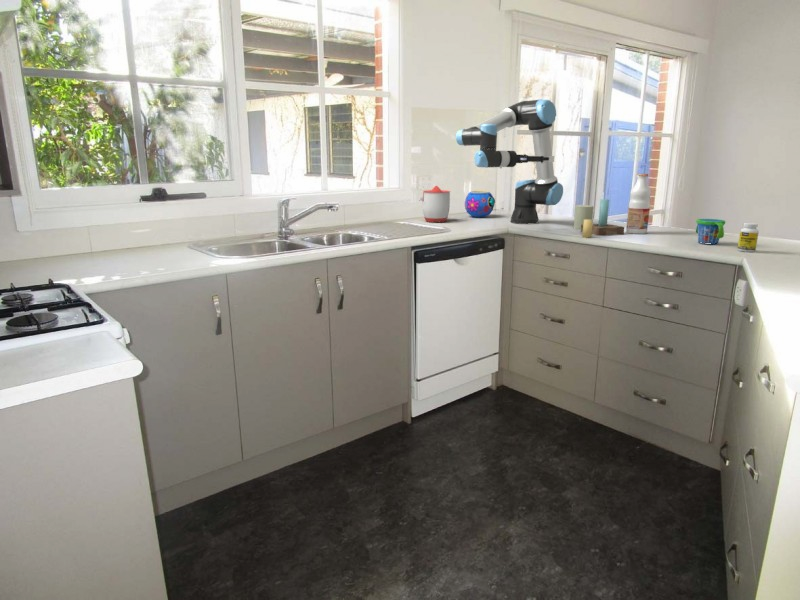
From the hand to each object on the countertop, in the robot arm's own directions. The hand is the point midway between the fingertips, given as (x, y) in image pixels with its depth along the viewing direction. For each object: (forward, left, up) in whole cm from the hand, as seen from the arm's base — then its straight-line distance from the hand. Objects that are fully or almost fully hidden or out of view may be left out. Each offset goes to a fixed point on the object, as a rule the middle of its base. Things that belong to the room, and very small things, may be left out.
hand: (546, 158), depth 270 cm
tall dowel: (+16, +24, -35) cm, 45 cm away
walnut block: (+16, +24, -35) cm, 45 cm away
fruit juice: (+21, +40, -35) cm, 57 cm away
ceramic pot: (-63, -4, -35) cm, 72 cm away
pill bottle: (+76, +47, -35) cm, 96 cm away
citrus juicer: (-52, -37, -35) cm, 73 cm away
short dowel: (+25, +9, -35) cm, 44 cm away
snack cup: (+57, +47, -35) cm, 82 cm away
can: (-1, +25, -35) cm, 43 cm away
